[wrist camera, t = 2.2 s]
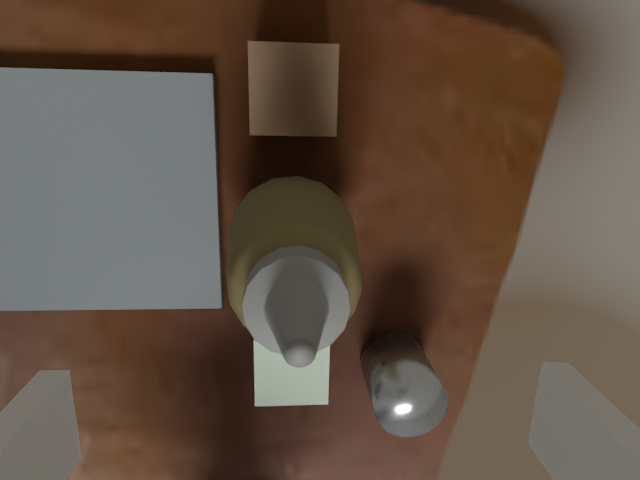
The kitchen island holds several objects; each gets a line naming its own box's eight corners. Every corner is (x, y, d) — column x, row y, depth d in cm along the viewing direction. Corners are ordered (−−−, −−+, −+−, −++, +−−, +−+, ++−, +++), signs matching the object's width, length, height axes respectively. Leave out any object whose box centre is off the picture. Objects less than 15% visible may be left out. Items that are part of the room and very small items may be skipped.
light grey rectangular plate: (-33, 305, 33) (-43, 311, 32) (-82, 66, 29) (-94, 64, 28) (223, 302, 35) (221, 308, 34) (214, 74, 30) (212, 73, 29)
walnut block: (254, 130, 31) (249, 135, 27) (253, 51, 30) (247, 40, 25) (328, 131, 32) (336, 136, 27) (330, 53, 30) (339, 43, 26)
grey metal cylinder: (358, 387, 37) (372, 438, 32) (361, 330, 36) (376, 373, 30) (419, 385, 38) (444, 435, 32) (424, 330, 36) (451, 371, 31)
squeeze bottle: (237, 162, 32) (182, 230, 15) (353, 173, 33) (432, 249, 15) (231, 273, 34) (177, 447, 17) (340, 281, 35) (396, 454, 18)
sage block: (258, 366, 36) (254, 406, 32) (257, 307, 35) (253, 340, 30) (322, 365, 37) (328, 404, 32) (323, 307, 35) (330, 338, 31)
